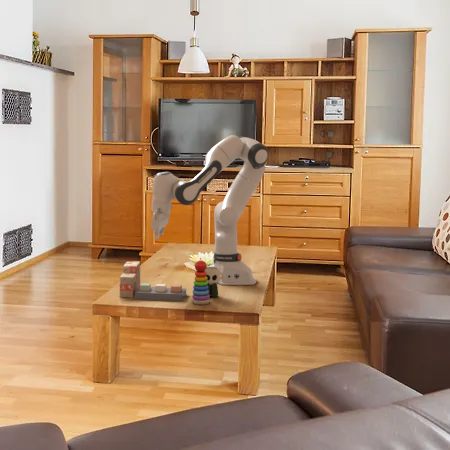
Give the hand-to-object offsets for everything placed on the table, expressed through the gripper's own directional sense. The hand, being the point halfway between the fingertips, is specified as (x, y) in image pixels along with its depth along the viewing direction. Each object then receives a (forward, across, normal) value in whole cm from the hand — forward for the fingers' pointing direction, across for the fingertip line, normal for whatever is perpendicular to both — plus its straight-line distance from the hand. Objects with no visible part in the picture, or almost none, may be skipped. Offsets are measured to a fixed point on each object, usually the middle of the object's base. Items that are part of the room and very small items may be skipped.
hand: (159, 236), depth 312 cm
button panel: (+24, -15, -6) cm, 29 cm away
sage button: (+22, -15, +1) cm, 27 cm away
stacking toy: (+23, -22, -25) cm, 40 cm away
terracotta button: (+21, -15, -13) cm, 29 cm away
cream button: (+22, -15, -6) cm, 27 cm away
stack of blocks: (+26, -8, +10) cm, 29 cm away
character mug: (+23, -10, -28) cm, 37 cm away
